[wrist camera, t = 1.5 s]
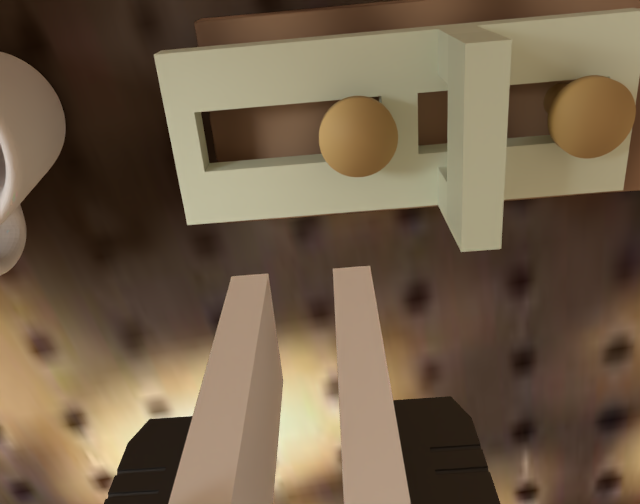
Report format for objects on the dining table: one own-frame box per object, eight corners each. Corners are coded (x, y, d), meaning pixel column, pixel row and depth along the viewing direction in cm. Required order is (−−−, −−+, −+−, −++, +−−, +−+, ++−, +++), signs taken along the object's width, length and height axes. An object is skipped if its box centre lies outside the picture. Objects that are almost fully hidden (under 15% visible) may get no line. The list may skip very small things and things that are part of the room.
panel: (192, 214, 30) (162, 274, 24) (161, 50, 27) (116, 74, 21) (610, 180, 30) (683, 234, 24) (633, 7, 26) (725, 20, 20)
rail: (232, 209, 33) (215, 256, 28) (201, 18, 29) (174, 30, 24) (705, 171, 32) (782, 212, 27) (746, -32, 28) (848, -31, 23)
